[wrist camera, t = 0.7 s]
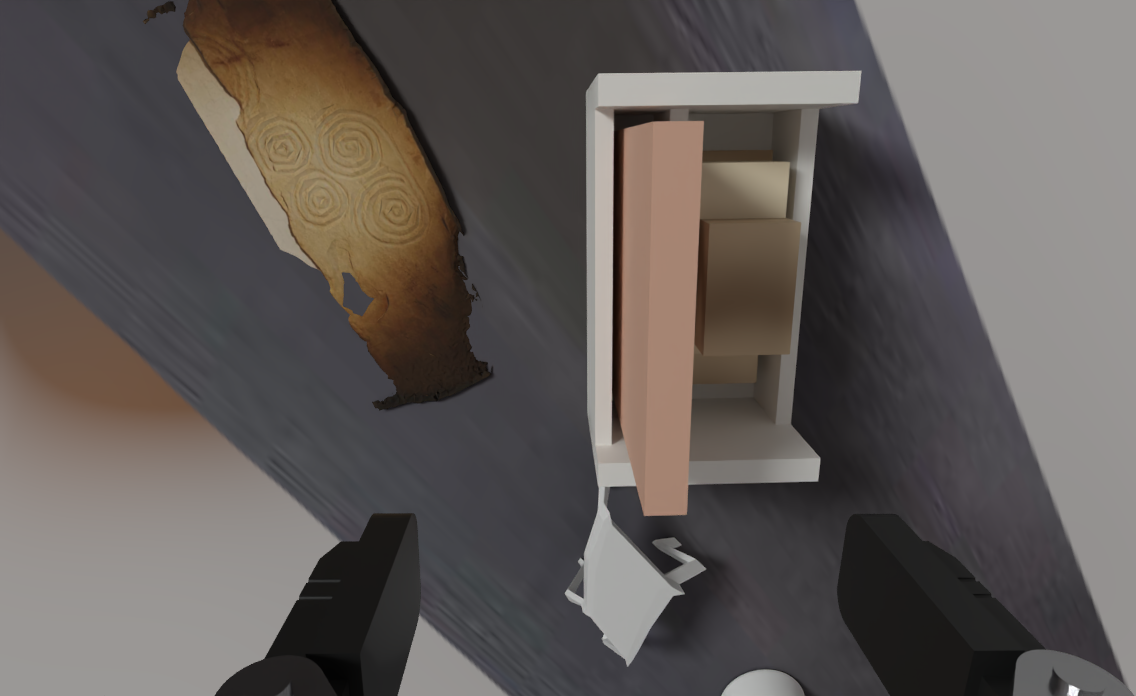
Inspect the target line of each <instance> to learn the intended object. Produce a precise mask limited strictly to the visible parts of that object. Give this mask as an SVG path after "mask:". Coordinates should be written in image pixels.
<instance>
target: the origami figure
mask: <svg viewBox="0 0 1136 696" xmlns="http://www.w3.org/2000/svg"><path fill="white" fill-rule="evenodd" d="M609 490H610V487H599V499H598V513H597V516H596V519H595V522H594V525H593V528H592V531H591V534H590V537H589V540H588V543H587V546H586V549H585V552H584V561H583V560H582V559H581V558H580V560H579V561H578V562H579V564H580V566H581V569H580V570H579V572H578V573H577V575H576V576H575V578H574V580H573V581H572V583H571V584H570V586H569V587H568V589H567V591H566V592H565V595H566V596H567V598H568V599H569V601H571V602H573V603H576V604H578V605H580V606H582V610H583V613H585V614H586V615H588V616H589V617H591V618H592V620H593V621H594V622H595V623H596V624H597V626H598V627H599V628H600V629H601V631H602V632H603V633H604V636H603V638H602V640H603V642H604V644H605V645H606V646H608V647H609V648H610V649H612V650H613V651H615V652H616V653H617V654H619V655H620V656H622V657H623V658H624V659H625V660H626V664H627V667H628V666H629V664H630V663H631V662H632V660H633V659H634V657H635V655H636V654H637V652H638V650H639V648H640V647H641V645H642V643H643V641H644V639H645V638H646V636H647V634H648V632H649V630H650V628H651V627H652V625H653V624H654V622H655V621H656V620H657V618H658V617H659V615H660V614H661V613H662V611H663V610H664V608H665V607H666V605H667V604H668V603H669V601H670V600H671V598H672V597H673V596H676V595H683V594H685V593H684V591H683V590H682V588H681V586H680V584H681V583H683V582H685V581H686V580H688V579H690V578H692V577H694V576H696V575H697V574H699V573H701V572H703V571H704V570H706V568H705V567H704V566H703V565H702V564H701V563H700V562H699V561H697V560H696V559H695V558H693V557H691V556H688V555H686V554H684V553H682V552H680V551H678V550H676V549H674V548H677V547H679V546H681V544H680V543H679V542H678V541H677V540H676V539H675V538H674V537H673V538H666V539H658V540H655V541H653V542H652V543H653V544H654V545H655V546H656V547H657V548H658V549H659V550H661V551H663V552H664V553H666V554H668V555H670V556H671V557H673V558H675V559H677V560H678V561H680V562H682V563H683V565H681V566H679V567H677V568H675V569H673V570H671V571H669V572H667V573H665V574H663V573H662V572H661V571H660V570H659V569H658V568H657V567H656V566H655V565H654V564H653V563H652V562H651V560H650V559H649V558H648V557H647V556H646V555H645V554H644V553H643V552H642V551H641V550H640V549H639V548H638V547H637V546H636V545H635V544H634V543H633V542H632V541H631V540H630V538H629V537H628V536H627V535H626V534H625V533H624V532H623V531H622V530H621V529H620V528H619V527H618V526H617V525H616V524H615V523H614V522H613V521H612V520H611V517H610V513H609V511H608V509H607V502H608V496H609ZM583 577H584V599H583V598H581V597H579V596H578V595H576V594H575V592H576V590H577V588H578V586H579V584H580V583H581V581H582V579H583Z"/></svg>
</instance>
